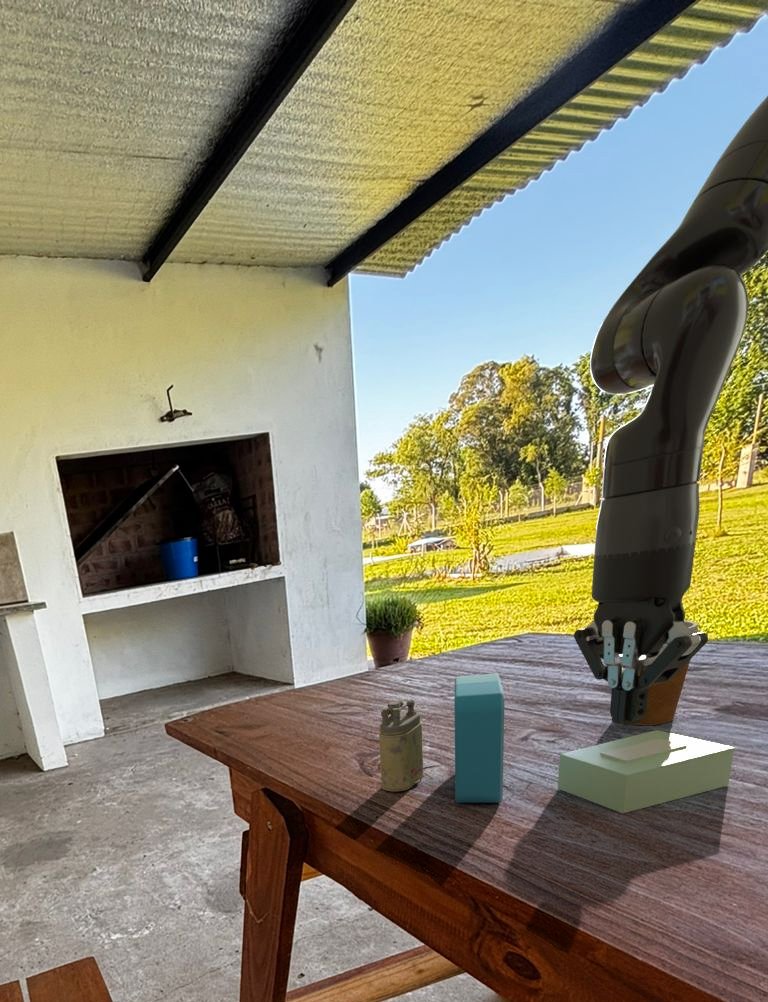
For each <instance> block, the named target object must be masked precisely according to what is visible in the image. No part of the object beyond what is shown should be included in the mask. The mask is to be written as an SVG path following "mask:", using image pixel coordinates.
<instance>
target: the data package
mask: <svg viewBox="0 0 768 1002" xmlns="http://www.w3.org/2000/svg"><path fill="white" fill-rule="evenodd" d="M502 686H503V685H502V682H501V678H500V675H499V673H496V672H495V673H486V674H474V675H473V674H471V675H461V676H460V675H459V676H456V677H454V795H455V796H454V798H455V799H454V801H455V802H456V803H457V804H482V803H483V804H486V803H487V804H488V803H489V804H490V803H491V804H492V803H493V804H494V803H495V804H497V803H501V802H502V801H503V797H504V795H503V794H504V755H505V754H504V751H505V748H504V747H505V693H504V689H503V687H502Z"/></svg>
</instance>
